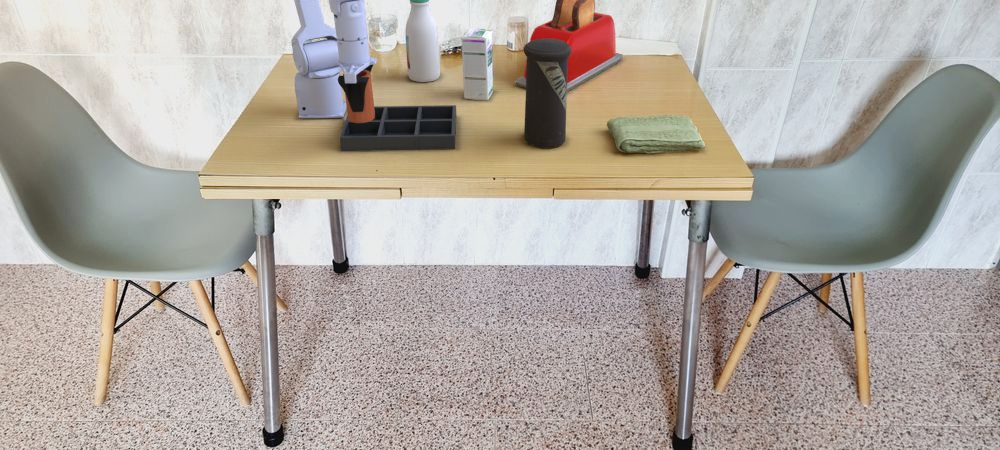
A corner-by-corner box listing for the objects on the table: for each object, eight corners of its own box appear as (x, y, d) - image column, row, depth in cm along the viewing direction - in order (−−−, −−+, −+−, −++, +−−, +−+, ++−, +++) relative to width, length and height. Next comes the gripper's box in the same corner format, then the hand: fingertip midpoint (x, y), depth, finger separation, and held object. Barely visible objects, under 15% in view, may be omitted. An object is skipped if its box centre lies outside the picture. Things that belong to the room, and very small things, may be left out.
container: (553, 153, 141) (558, 53, 130) (514, 142, 145) (515, 44, 134) (574, 136, 147) (580, 40, 136) (535, 127, 151) (538, 32, 140)
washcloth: (707, 153, 141) (710, 137, 139) (617, 156, 140) (619, 141, 138) (687, 125, 152) (689, 110, 150) (604, 128, 151) (605, 113, 149)
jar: (346, 123, 140) (340, 79, 135) (350, 112, 145) (344, 69, 140) (373, 122, 140) (368, 78, 136) (376, 112, 145) (372, 68, 140)
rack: (341, 151, 142) (339, 137, 140) (351, 119, 155) (350, 106, 153) (455, 149, 142) (454, 135, 141) (456, 117, 155) (456, 105, 154)
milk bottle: (446, 75, 177) (443, -9, 166) (427, 85, 171) (422, -1, 160) (421, 69, 180) (416, -13, 169) (401, 78, 175) (395, -6, 164)
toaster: (558, 98, 164) (562, 15, 154) (512, 86, 171) (513, 5, 161) (625, 59, 186) (632, -16, 176) (582, 49, 193) (586, -24, 183)
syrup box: (488, 101, 163) (487, 37, 155) (463, 98, 164) (461, 35, 156) (493, 91, 168) (493, 29, 160) (468, 89, 169) (467, 27, 161)
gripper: (369, 49, 128) (376, 120, 135) (378, 24, 140) (384, 91, 147) (329, 49, 128) (338, 120, 135) (341, 25, 140) (349, 91, 147)
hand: (359, 105), depth 141 cm, fingers closed on jar, 5 cm apart
